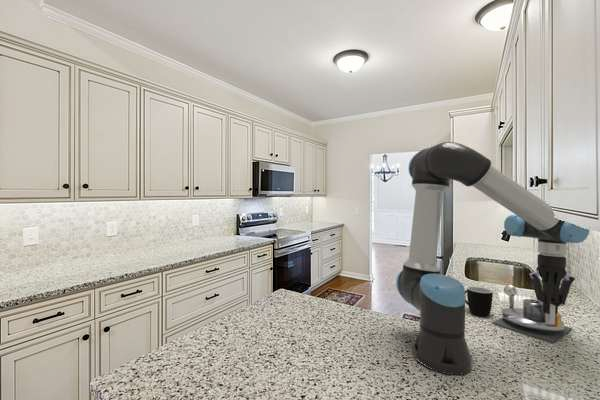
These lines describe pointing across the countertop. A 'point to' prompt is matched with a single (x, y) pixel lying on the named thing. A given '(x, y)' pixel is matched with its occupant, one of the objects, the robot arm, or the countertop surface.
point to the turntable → (517, 318)
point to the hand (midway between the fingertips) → (550, 322)
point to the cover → (533, 310)
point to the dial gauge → (510, 294)
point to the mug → (479, 301)
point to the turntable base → (533, 331)
